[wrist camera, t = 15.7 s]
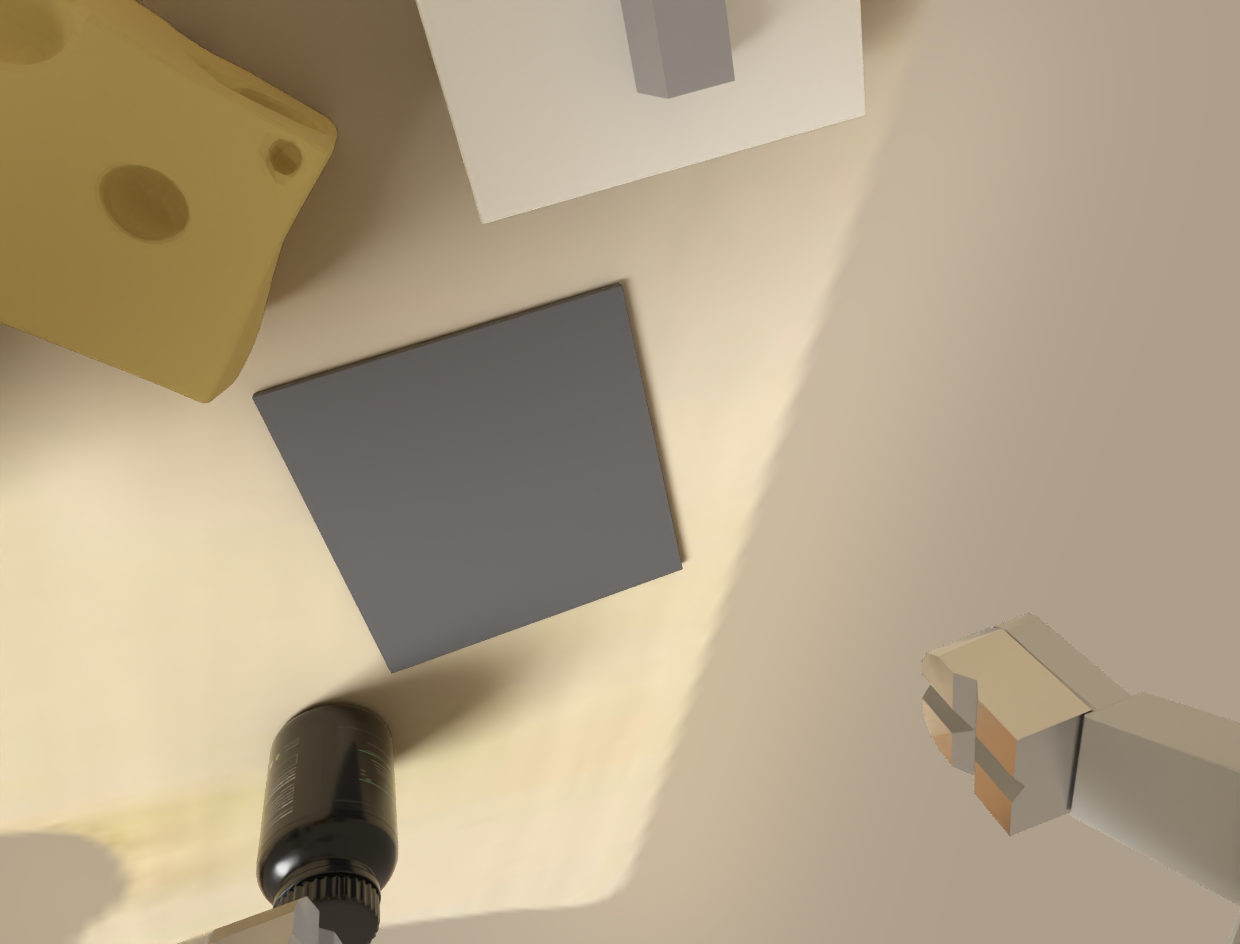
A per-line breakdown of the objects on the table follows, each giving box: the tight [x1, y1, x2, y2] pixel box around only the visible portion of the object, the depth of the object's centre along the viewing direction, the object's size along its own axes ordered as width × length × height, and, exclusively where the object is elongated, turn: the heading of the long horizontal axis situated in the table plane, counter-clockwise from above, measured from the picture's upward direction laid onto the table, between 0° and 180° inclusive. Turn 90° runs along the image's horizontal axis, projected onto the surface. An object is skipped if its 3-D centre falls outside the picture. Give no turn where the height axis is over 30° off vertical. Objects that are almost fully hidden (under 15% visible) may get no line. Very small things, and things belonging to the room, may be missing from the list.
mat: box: [253, 283, 683, 674], centre depth 43 cm, size 18×18×1 cm
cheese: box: [0, 0, 337, 403], centre depth 28 cm, size 10×11×10 cm
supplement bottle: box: [256, 704, 398, 944], centre depth 43 cm, size 7×7×12 cm
